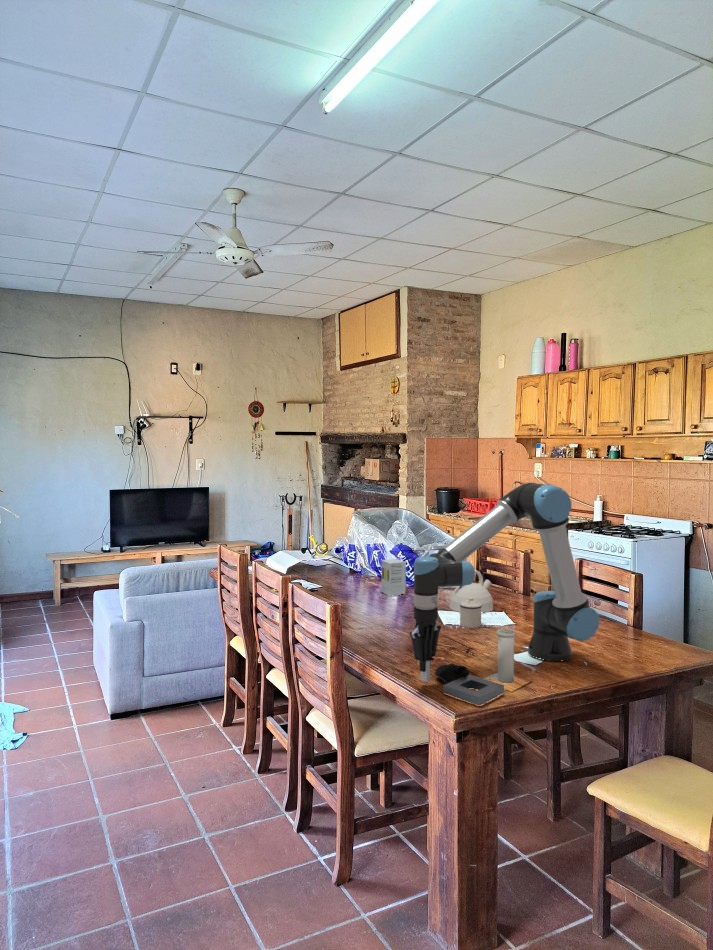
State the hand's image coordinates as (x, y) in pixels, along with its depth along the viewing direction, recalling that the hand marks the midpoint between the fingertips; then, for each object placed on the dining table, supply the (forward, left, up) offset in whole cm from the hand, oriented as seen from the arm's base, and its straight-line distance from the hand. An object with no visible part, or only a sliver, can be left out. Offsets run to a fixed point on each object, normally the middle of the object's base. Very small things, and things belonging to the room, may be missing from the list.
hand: (425, 680), depth 203 cm
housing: (-5, +15, -2) cm, 16 cm away
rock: (-9, +4, -2) cm, 10 cm away
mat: (-21, +16, -2) cm, 26 cm away
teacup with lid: (-66, -30, -2) cm, 72 cm away
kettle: (-89, -45, -2) cm, 100 cm away
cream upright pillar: (-21, +16, -1) cm, 26 cm away
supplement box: (-83, -88, -2) cm, 121 cm away
